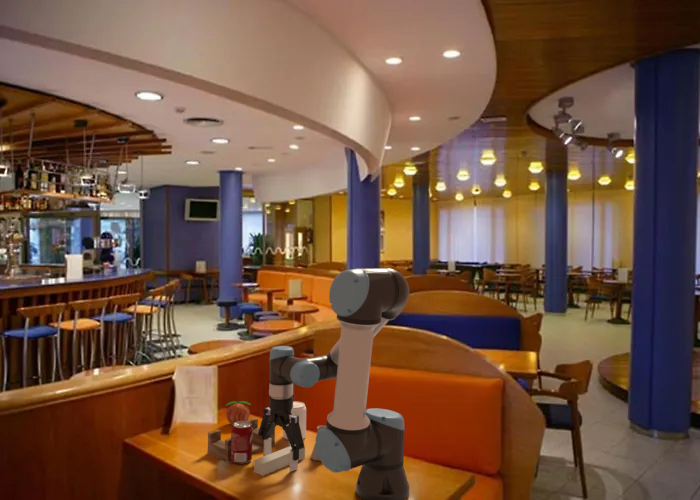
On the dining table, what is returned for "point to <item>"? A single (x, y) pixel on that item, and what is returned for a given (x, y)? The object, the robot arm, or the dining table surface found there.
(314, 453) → the flask
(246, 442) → the soda can
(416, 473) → the dining table surface
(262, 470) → the white rectangular bar
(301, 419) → the beverage can
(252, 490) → the dining table surface
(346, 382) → the robot arm
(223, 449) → the rack
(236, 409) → the fruit
